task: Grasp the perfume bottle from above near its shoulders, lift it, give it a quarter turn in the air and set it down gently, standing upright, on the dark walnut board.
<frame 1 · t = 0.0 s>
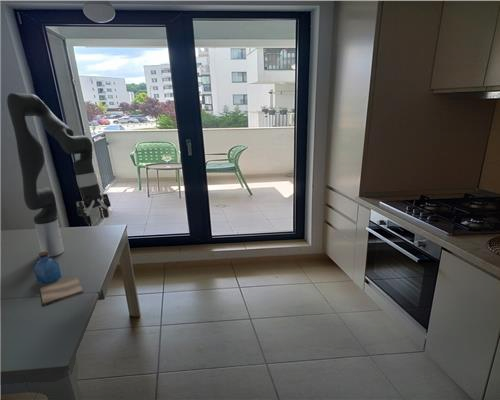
hand: (98, 220, 128), 22 cm above the table, tool pointing down, fingers open, 8 cm apart
perfume bottle: (49, 279, 125), on the table
walnut board: (61, 290, 116), on the table
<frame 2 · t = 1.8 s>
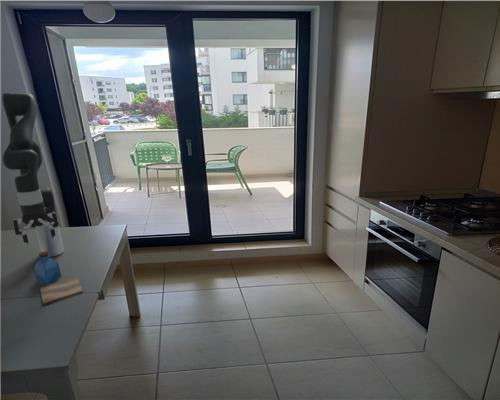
hand: (40, 239, 120), 18 cm above the table, tool pointing down, fingers open, 8 cm apart
nothing on the table moved.
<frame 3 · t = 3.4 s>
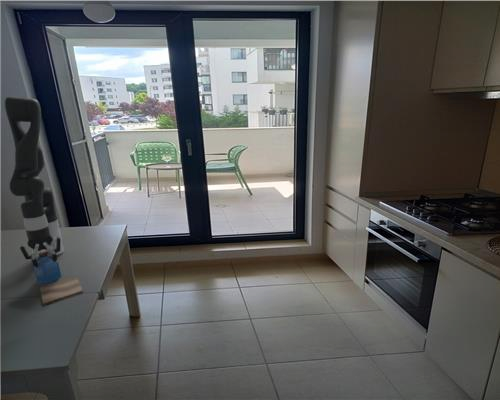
hand: (45, 263, 123), 7 cm above the table, tool pointing down, fingers closed on perfume bottle, 5 cm apart
perfume bottle: (49, 279, 125), on the table, touching gripper
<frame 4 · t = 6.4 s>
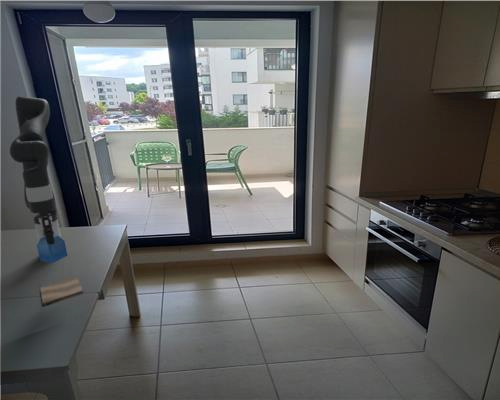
hand: (50, 241, 110), 21 cm above the table, tool pointing down, fingers closed on perfume bottle, 5 cm apart
perfume bottle: (54, 258, 112), point 14 cm above the table, touching gripper
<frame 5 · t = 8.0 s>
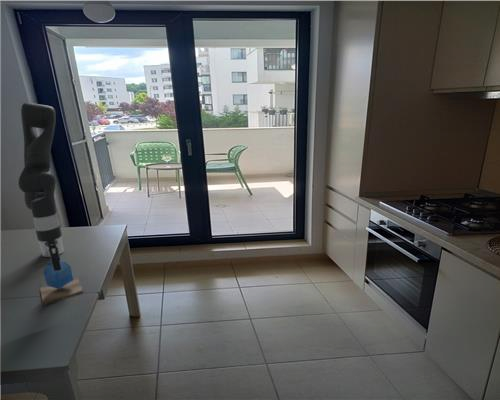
hand: (56, 266, 113), 11 cm above the table, tool pointing down, fingers closed on perfume bottle, 5 cm apart
perfume bottle: (60, 283, 116), point 3 cm above the table, touching gripper
when the fingers open (9 cm above the table, at t = 9.4 s): perfume bottle drops 2 cm, resting on walnut board.
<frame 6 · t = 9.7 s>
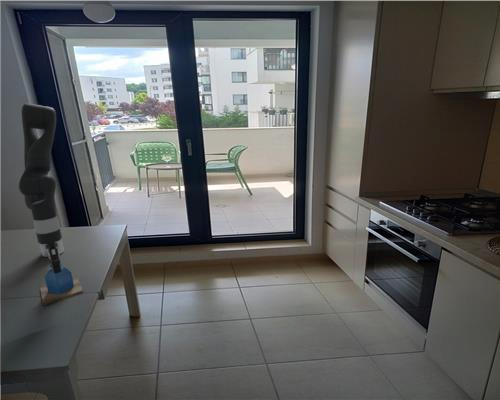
hand: (56, 268, 114), 10 cm above the table, tool pointing down, fingers open, 8 cm apart
perfume bottle: (61, 289, 116), point 1 cm above the table, touching walnut board
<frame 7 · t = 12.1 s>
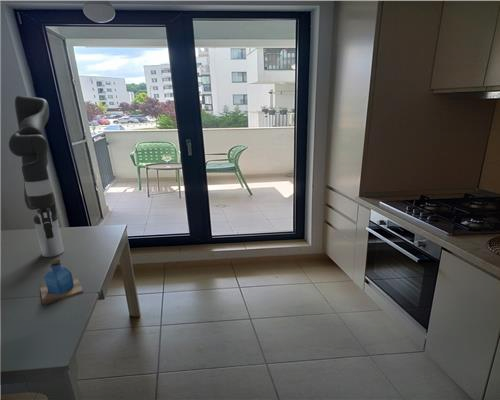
hand: (49, 234, 110), 24 cm above the table, tool pointing down, fingers open, 8 cm apart
nothing on the table moved.
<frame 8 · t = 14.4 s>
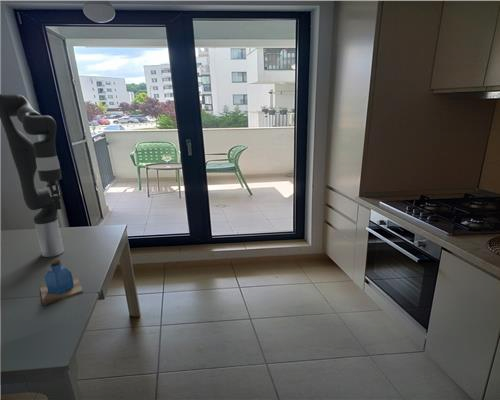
hand: (57, 206, 122), 30 cm above the table, tool pointing down, fingers open, 8 cm apart
nothing on the table moved.
at the end: perfume bottle 0.1 cm off-centre on the walnut board, point 0.6 cm above the walnut board's base; perfume bottle tilted 0°; the gripper is holding nothing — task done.
